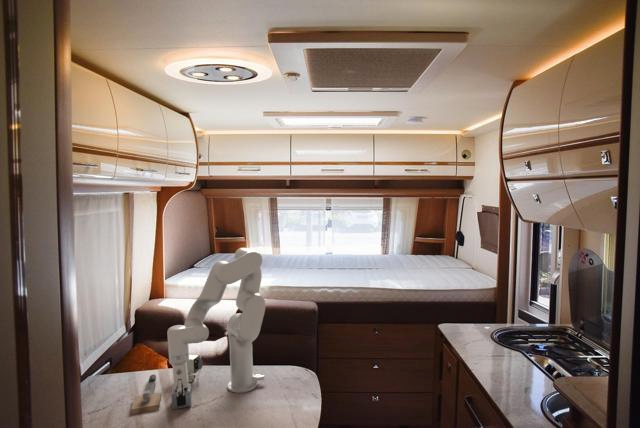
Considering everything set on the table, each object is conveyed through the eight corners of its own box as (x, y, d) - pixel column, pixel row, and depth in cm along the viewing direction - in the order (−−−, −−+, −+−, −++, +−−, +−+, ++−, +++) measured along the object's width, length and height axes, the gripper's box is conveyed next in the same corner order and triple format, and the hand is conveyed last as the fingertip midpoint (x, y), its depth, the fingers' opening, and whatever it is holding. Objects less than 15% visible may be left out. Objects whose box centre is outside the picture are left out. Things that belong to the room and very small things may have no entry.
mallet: (164, 378, 185) (164, 367, 185) (159, 409, 159) (158, 395, 159) (141, 382, 182) (140, 370, 182) (131, 414, 156) (130, 400, 156)
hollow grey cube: (191, 397, 167) (190, 383, 167) (191, 406, 160) (190, 391, 160) (173, 400, 165) (172, 386, 165) (172, 409, 158) (171, 394, 158)
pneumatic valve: (198, 383, 180) (197, 357, 179) (174, 382, 182) (173, 355, 181) (204, 378, 185) (203, 352, 184) (181, 376, 187) (180, 350, 187)
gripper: (188, 364, 154) (191, 409, 155) (189, 347, 171) (192, 388, 172) (167, 367, 152) (170, 413, 153) (170, 350, 169) (173, 391, 170)
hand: (181, 400), depth 163 cm, fingers closed on hollow grey cube, 7 cm apart
